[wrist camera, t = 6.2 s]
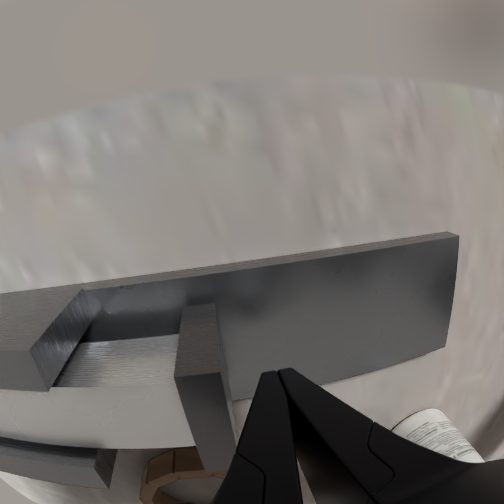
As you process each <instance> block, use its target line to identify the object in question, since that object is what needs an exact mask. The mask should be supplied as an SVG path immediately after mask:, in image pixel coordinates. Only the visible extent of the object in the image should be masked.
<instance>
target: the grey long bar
mask: <svg viewBox="0 0 504 504" xmlns="http://www.w3.org/2000/svg"><path fill="white" fill-rule="evenodd" d="M0 436H1V437H6V438H11V439H17V440H23V441H30V442H37V443H44V444H53V445H62V446H74V447H88V448H112V449H148V448H173V447H188V446H196V447H197V450H198V453H199V456H200V458H201V461H202V464H203V466H204V469H205V472H206V473H210V472H220V471H228V469H229V466H230V464H231V461H232V458H233V455H234V454H235V450H236V447H237V445H238V440H237V433H236V426H235V419H234V412H233V404H232V397H231V390H230V385H229V380H228V374H227V369H226V364H225V358H224V353H223V347H222V341H221V336H220V330H219V324H218V318H217V312H216V306H215V303H209V304H202V305H194V306H187V307H183V310H182V316H181V324H180V331H179V334H175V335H166V336H157V337H147V338H137V339H126V340H115V341H102V342H88V343H77V345H76V347H75V348H74V350H73V351H72V353H71V355H70V356H69V358H68V360H67V361H66V363H65V364H64V366H63V368H62V369H61V371H60V373H59V375H58V376H57V378H56V380H55V381H54V383H53V385H52V386H51V388H50V390H49V392H35V391H18V390H5V389H0Z"/></svg>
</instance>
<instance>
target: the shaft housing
mask: <svg viewBox="0 0 504 504" xmlns="http://www.w3.org/2000/svg"><path fill="white" fill-rule="evenodd" d="M458 248H459V236H458V235H455V234H453V233H450V232H442V233H435V234H429V235H422V236H416V237H409V238H402V239H396V240H389V241H382V242H376V243H369V244H362V245H355V246H349V247H342V248H335V249H328V250H321V251H314V252H308V253H301V254H294V255H287V256H280V257H273V258H266V259H259V260H252V261H244V262H237V263H230V264H223V265H216V266H209V267H201V268H194V269H187V270H180V271H172V272H165V273H157V274H150V275H143V276H135V277H128V278H120V279H113V280H105V281H98V282H90V283H82V284H75V285H67V286H59V287H51V288H43V289H36V290H28V291H20V292H12V293H4V294H0V389H5V390H18V391H35V392H49V390H50V388H51V386H52V385H53V383H54V381H55V380H56V378H57V376H58V375H59V373H60V371H61V369H62V368H63V366H64V364H65V363H66V361H67V360H68V358H69V356H70V355H71V353H72V351H73V350H74V348H75V347H76V345H77V343H88V342H102V341H115V340H126V339H137V338H147V337H157V336H166V335H175V334H179V331H180V324H181V316H182V310H183V307H187V306H194V305H202V304H209V303H215V306H216V312H217V318H218V324H219V330H220V336H221V341H222V347H223V353H224V358H225V364H226V369H227V374H228V380H229V385H230V390H231V397H232V401H234V400H241V399H247V398H253V397H254V394H255V391H256V388H257V385H258V382H259V379H260V376H261V373H263V372H267V371H273V370H275V371H276V372H277V370H279V369H284V368H289V367H291V368H293V369H295V370H296V371H297V372H299V373H300V374H302V375H303V376H305V377H306V378H308V379H309V380H311V381H312V382H314V383H315V384H317V385H320V384H324V383H328V382H333V381H337V380H341V379H345V378H348V377H352V376H356V375H360V374H363V373H367V372H370V371H374V370H377V369H381V368H384V367H387V366H390V365H394V364H397V363H400V362H403V361H406V360H409V359H412V358H415V357H418V356H421V355H424V354H427V353H429V352H432V351H435V350H438V349H440V348H443V347H445V344H446V339H447V334H448V328H449V323H450V317H451V310H452V304H453V297H454V289H455V281H456V272H457V261H458ZM117 450H118V449H112V448H88V447H74V446H62V445H53V444H44V443H37V442H30V441H23V440H17V439H11V438H6V437H1V436H0V471H3V472H7V473H11V474H15V475H19V476H23V477H28V478H33V479H38V480H43V481H48V482H54V483H60V484H66V485H74V486H81V487H90V488H101V489H109V487H110V482H111V477H112V472H113V468H114V463H115V458H116V454H117Z"/></svg>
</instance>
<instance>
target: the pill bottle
mask: <svg viewBox="0 0 504 504" xmlns="http://www.w3.org/2000/svg"><path fill="white" fill-rule="evenodd" d="M392 432H394V433H395V434H397V435H399V436H401V437H403V438H405V439H407V440H410V441H412V442H414V443H416V444H418V445H421V446H423V447H426V448H428V449H431V450H433V451H436V452H438V453H441V454H443V455H446V456H448V457H451V458H454V459H457V460H460V461H464V462H471V463H481V462H485V461H484V460H483V459H482V457H481V456H480V455H479V454H478V453H477V451H476V450H475V449H474V448H473V447H472V446H471V444H470V443H469V442H468V441H467V440H466V439H465V437H464V436H463V435H462V434H461V433H460V432H459V431H458V430H457V428H456V427H455V426H454V425H453V424H452V423H451V422H450V420H449V419H448V418H447V417H446V416H445V415H444V414H443V413H442V412H441V411H440V410H438V409H426V410H422V411H419V412H417V413H415V414H413V415H411V416H410V417H408V418H406V419H405V420H403V421H402V422H401V423H399V424H398V425H397V426H396V427H395V428H394V429H393V430H392Z"/></svg>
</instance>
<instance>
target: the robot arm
mask: <svg viewBox="0 0 504 504" xmlns="http://www.w3.org/2000/svg"><path fill="white" fill-rule="evenodd" d="M296 457H297V458H296ZM297 459H298V462H299V464H300V466H301V469H302V471H303V473H304V476H305V478H306V480H307V482H308V485H309V487H310V489H311V492H312V494H313V496H314V498H315V501H316V503H317V504H504V459H499V460H494V461H488V462H481V463H471V462H464V461H460V460H457V459H454V458H451V457H448V456H446V455H443V454H441V453H438V452H436V451H433V450H431V449H428V448H426V447H423V446H421V445H418V444H416V443H414V442H412V441H410V440H407V439H405V438H403V437H401V436H399V435H397V434H395V433H394V432H392V431H390V430H388V429H386V428H385V427H383V426H381V425H380V424H378V423H376V422H373V420H371V419H370V418H368V417H366V416H365V415H363V414H362V413H360V412H358V411H357V410H355V409H354V408H352V407H350V406H349V405H347V404H346V403H344V402H343V401H341V400H340V399H338V398H336V397H335V396H333V395H332V394H330V393H329V392H327V391H326V390H324V389H323V388H321V387H320V386H318V385H317V384H315V383H314V382H312V381H311V380H309V379H308V378H306V377H305V376H303V375H302V374H300V373H299V372H297V371H296V370H295V369H293V368H291V367H289V368H284V369H279V370H277V372H276V371H275V370H273V371H267V372H263V373H261V376H260V379H259V382H258V385H257V388H256V391H255V394H254V397H253V400H252V403H251V406H250V409H249V412H248V415H247V418H246V421H245V424H244V427H243V430H242V433H241V436H240V439H239V442H238V445H237V447H236V450H235V454H234V455H233V458H232V461H231V464H230V466H229V469H228V471H227V474H226V476H225V478H224V481H223V482H222V484H221V486H220V488H219V490H218V492H217V494H216V496H215V497H214V499H213V501H212V502H211V504H303V500H302V493H301V485H300V478H299V471H298V464H297Z"/></svg>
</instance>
